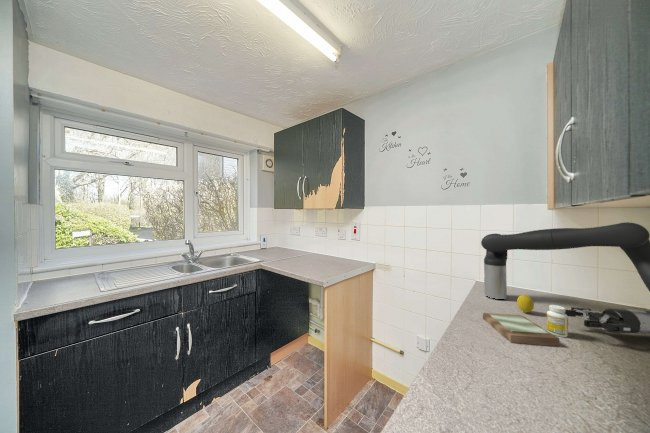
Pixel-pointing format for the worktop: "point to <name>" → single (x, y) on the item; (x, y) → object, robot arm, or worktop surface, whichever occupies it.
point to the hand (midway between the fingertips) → (573, 317)
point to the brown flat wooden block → (520, 329)
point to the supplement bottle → (557, 321)
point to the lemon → (525, 303)
